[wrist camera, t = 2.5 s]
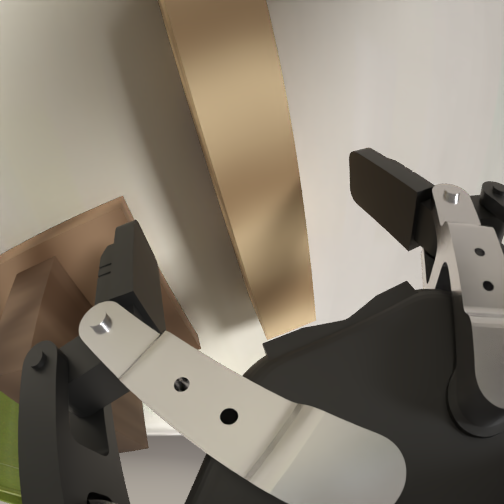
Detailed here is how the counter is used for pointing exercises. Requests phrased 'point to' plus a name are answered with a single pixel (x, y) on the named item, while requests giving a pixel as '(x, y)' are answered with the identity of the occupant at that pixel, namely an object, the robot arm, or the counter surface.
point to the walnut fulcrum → (69, 302)
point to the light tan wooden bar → (247, 148)
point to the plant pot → (9, 451)
